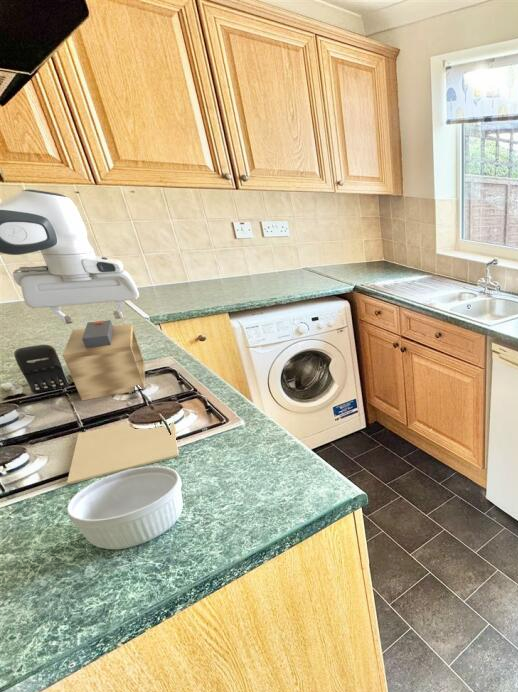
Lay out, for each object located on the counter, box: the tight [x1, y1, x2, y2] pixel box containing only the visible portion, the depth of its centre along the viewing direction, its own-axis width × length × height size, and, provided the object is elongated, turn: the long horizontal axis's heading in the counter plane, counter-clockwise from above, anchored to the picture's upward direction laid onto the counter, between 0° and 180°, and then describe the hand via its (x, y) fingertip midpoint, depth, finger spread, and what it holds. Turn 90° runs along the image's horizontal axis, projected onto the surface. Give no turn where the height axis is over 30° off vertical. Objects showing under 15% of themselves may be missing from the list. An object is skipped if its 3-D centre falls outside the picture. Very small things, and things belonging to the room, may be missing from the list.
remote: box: [82, 319, 114, 348], centre depth 107 cm, size 5×15×3 cm, turn 38°
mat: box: [66, 421, 180, 485], centre depth 86 cm, size 16×20×1 cm
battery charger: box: [13, 343, 70, 394], centre depth 103 cm, size 7×4×11 cm, turn 137°
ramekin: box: [66, 465, 184, 550], centre depth 66 cm, size 13×13×7 cm
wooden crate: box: [62, 323, 146, 401], centre depth 110 cm, size 12×21×12 cm, turn 38°
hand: (94, 320), depth 106 cm, fingers open, 8 cm apart
